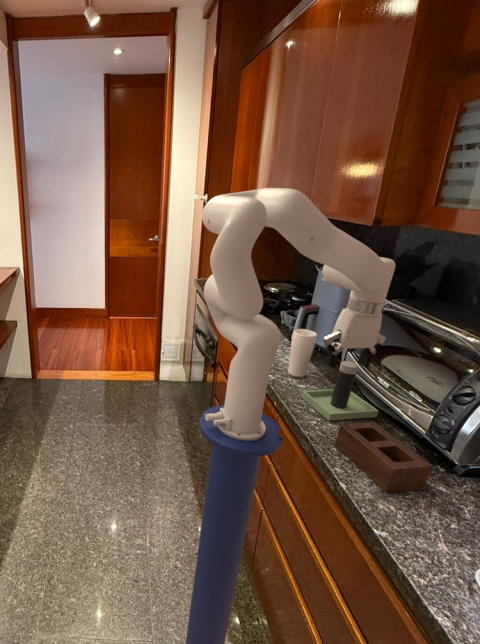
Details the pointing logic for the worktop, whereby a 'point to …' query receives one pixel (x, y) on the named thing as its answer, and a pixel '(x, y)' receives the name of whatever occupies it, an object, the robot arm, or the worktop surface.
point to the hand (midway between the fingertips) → (346, 365)
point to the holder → (383, 457)
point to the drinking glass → (301, 351)
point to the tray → (352, 411)
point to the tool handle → (344, 384)
